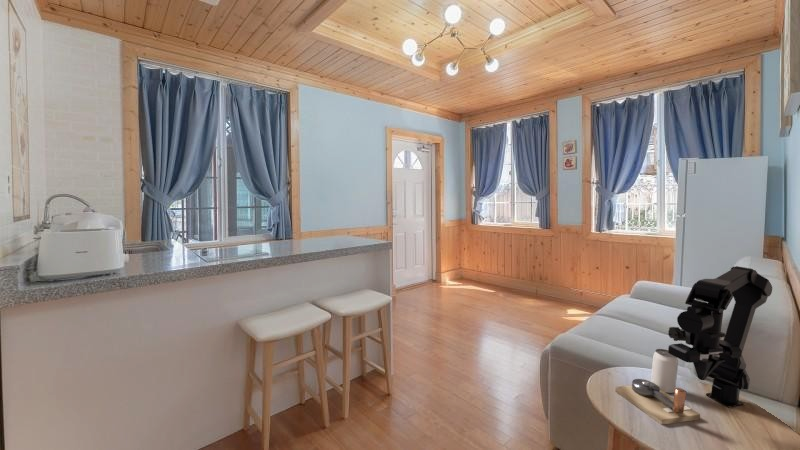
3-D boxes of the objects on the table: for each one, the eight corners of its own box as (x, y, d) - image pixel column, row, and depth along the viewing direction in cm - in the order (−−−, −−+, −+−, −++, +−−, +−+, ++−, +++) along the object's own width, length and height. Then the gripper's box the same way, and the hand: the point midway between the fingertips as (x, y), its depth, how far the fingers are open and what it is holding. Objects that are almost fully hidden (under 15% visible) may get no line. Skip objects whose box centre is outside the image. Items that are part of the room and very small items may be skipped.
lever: (626, 385, 113) (628, 364, 112) (645, 384, 114) (647, 363, 113) (670, 417, 97) (673, 393, 97) (692, 415, 99) (695, 391, 98)
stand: (649, 387, 115) (649, 382, 115) (699, 419, 100) (700, 413, 100) (615, 391, 113) (615, 386, 112) (661, 424, 97) (662, 418, 97)
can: (679, 395, 111) (683, 358, 110) (656, 392, 113) (660, 356, 111) (668, 383, 118) (672, 349, 116) (646, 381, 119) (650, 347, 118)
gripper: (704, 314, 108) (698, 362, 110) (653, 317, 104) (648, 367, 106) (746, 328, 97) (739, 382, 99) (691, 333, 94) (684, 388, 95)
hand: (701, 379), depth 100 cm, fingers closed
